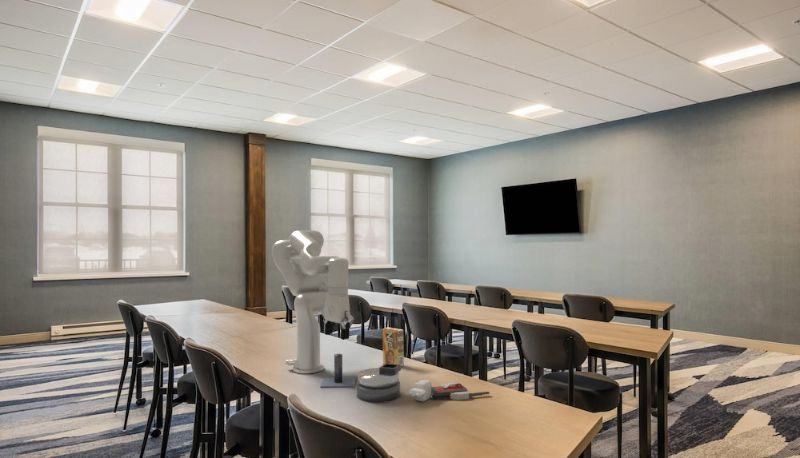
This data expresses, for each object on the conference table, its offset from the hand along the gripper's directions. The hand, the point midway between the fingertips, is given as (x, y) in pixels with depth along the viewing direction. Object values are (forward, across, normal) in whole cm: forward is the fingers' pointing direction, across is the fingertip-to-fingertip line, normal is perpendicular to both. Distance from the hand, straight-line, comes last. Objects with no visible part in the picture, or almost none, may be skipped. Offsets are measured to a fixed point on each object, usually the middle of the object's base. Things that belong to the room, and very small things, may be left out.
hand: (336, 336), depth 175 cm
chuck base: (+16, +22, 0) cm, 28 cm away
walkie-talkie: (+16, +43, +18) cm, 49 cm away
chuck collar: (+12, +22, 0) cm, 25 cm away
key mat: (+17, +2, 0) cm, 17 cm away
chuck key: (+16, +2, 0) cm, 17 cm away
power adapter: (+16, +37, +5) cm, 40 cm away
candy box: (+18, 0, +32) cm, 36 cm away
